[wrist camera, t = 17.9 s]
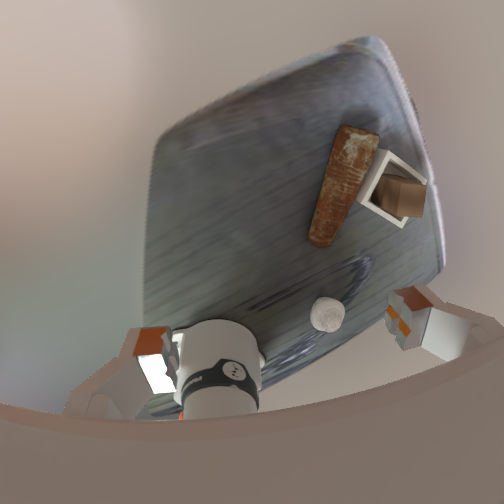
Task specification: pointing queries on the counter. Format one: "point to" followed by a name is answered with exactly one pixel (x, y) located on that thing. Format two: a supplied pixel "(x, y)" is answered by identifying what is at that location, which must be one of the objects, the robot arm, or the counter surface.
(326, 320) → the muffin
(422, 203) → the walnut block
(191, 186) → the counter surface
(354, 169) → the bread
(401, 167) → the bin
